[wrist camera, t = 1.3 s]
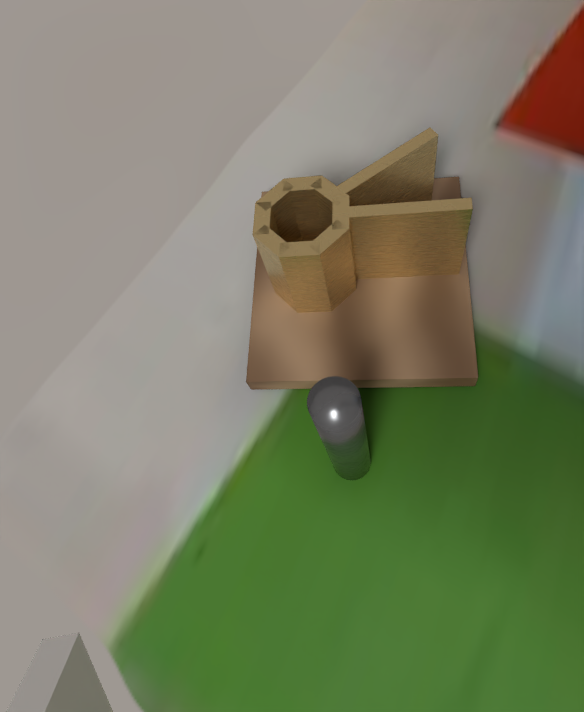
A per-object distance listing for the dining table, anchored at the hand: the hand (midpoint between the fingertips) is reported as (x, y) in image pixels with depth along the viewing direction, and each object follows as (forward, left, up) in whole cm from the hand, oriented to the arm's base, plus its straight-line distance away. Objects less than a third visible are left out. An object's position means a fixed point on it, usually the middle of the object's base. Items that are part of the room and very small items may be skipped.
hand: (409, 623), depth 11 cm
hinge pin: (+3, -8, -23) cm, 24 cm away
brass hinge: (+2, -23, -21) cm, 31 cm away
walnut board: (+2, -21, -23) cm, 31 cm away
